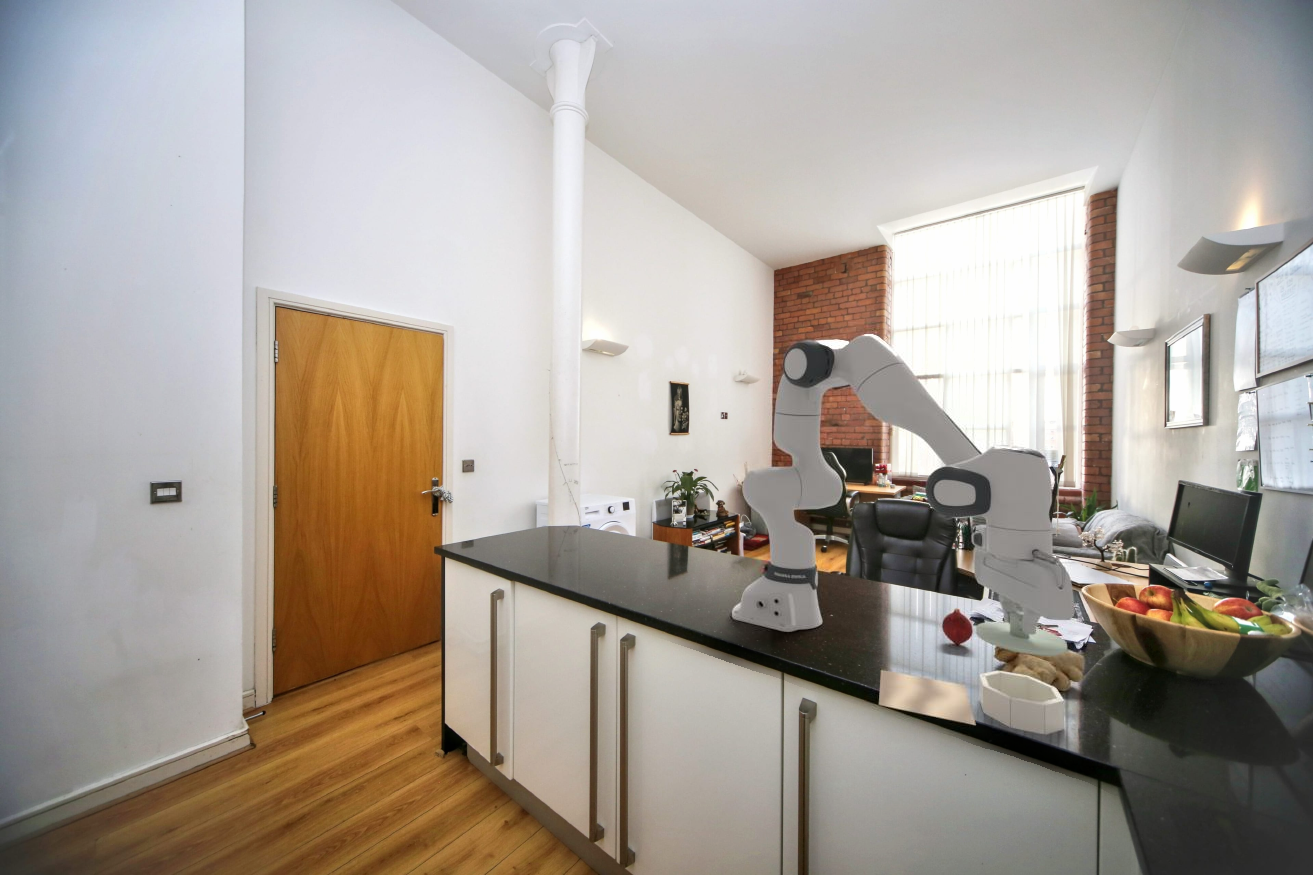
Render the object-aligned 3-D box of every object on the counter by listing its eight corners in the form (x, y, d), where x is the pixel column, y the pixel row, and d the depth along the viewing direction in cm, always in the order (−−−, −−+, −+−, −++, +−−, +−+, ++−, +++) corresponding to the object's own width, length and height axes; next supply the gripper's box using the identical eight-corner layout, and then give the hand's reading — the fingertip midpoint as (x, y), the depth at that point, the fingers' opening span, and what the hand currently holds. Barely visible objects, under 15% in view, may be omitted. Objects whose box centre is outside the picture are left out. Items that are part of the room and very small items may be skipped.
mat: (878, 707, 84) (878, 704, 84) (881, 672, 97) (881, 669, 97) (975, 728, 78) (975, 724, 78) (964, 688, 90) (964, 685, 90)
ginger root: (1040, 652, 103) (1045, 618, 101) (1106, 711, 87) (1114, 673, 85) (964, 654, 103) (968, 620, 101) (1016, 713, 88) (1021, 675, 86)
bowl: (986, 725, 79) (986, 694, 79) (976, 694, 88) (976, 666, 88) (1070, 743, 74) (1070, 710, 74) (1050, 708, 84) (1050, 679, 84)
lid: (987, 649, 77) (987, 621, 78) (968, 622, 89) (968, 599, 89) (1081, 660, 73) (1081, 631, 73) (1048, 631, 85) (1048, 606, 85)
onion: (977, 651, 106) (977, 614, 106) (948, 648, 108) (948, 612, 108) (966, 640, 112) (966, 605, 112) (938, 638, 113) (938, 603, 113)
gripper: (1087, 559, 71) (1088, 655, 70) (1002, 533, 91) (1003, 608, 91) (1040, 558, 71) (1041, 654, 71) (966, 532, 92) (966, 607, 91)
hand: (1019, 627), depth 81 cm, fingers closed on lid, 3 cm apart
